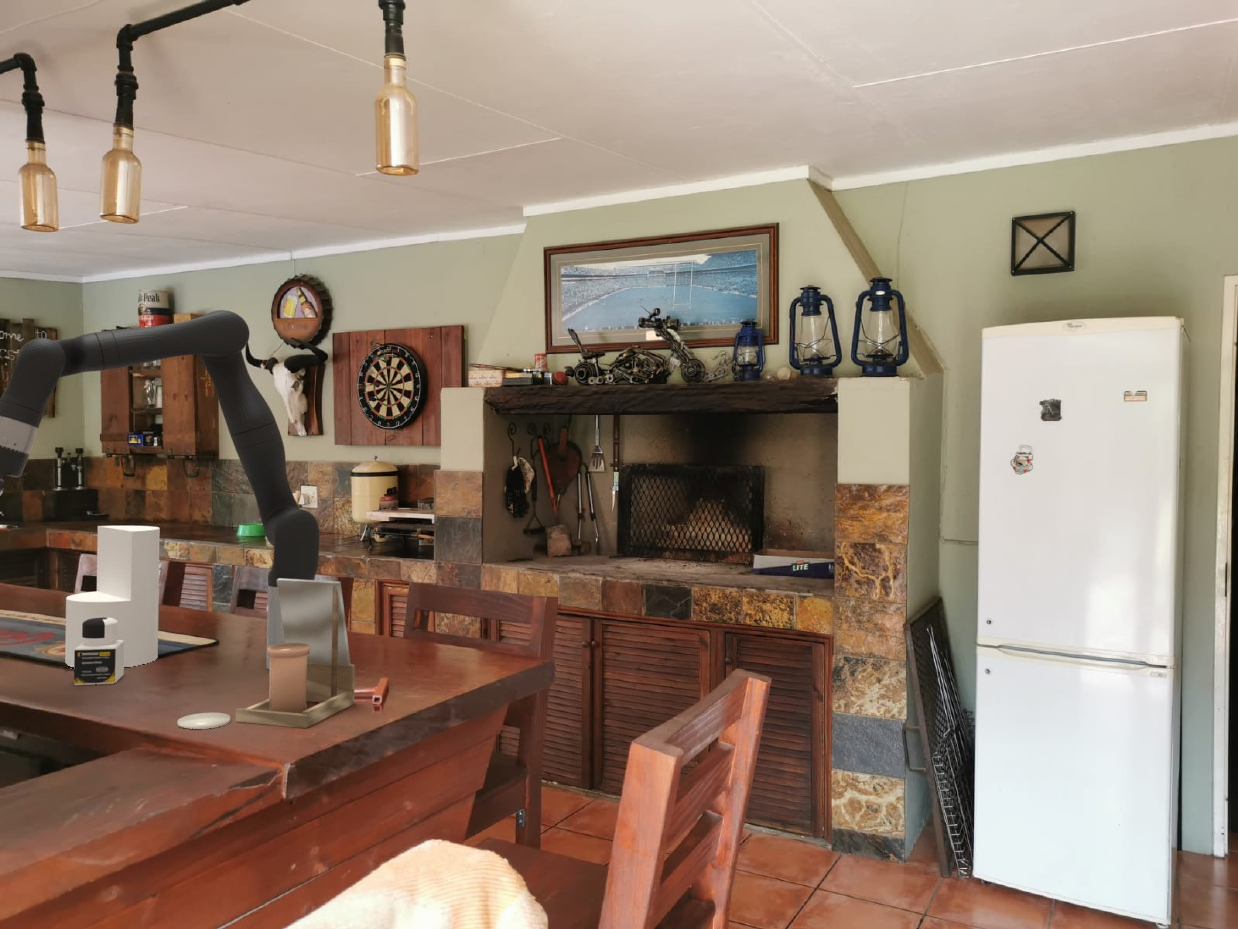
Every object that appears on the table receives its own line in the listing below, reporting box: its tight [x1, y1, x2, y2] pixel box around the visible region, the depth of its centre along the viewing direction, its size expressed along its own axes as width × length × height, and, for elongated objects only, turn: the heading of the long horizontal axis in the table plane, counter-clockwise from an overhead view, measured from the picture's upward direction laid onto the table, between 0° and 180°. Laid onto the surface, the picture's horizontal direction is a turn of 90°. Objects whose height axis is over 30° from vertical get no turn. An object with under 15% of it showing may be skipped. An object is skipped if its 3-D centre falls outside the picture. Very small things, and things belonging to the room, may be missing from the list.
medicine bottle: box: [73, 618, 125, 686], centre depth 183 cm, size 7×7×12 cm
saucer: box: [176, 712, 231, 730], centre depth 156 cm, size 8×8×1 cm
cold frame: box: [235, 578, 356, 729], centre depth 164 cm, size 16×13×23 cm
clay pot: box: [266, 643, 310, 714], centre depth 161 cm, size 7×7×12 cm
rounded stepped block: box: [64, 525, 161, 668], centre depth 200 cm, size 17×17×28 cm
